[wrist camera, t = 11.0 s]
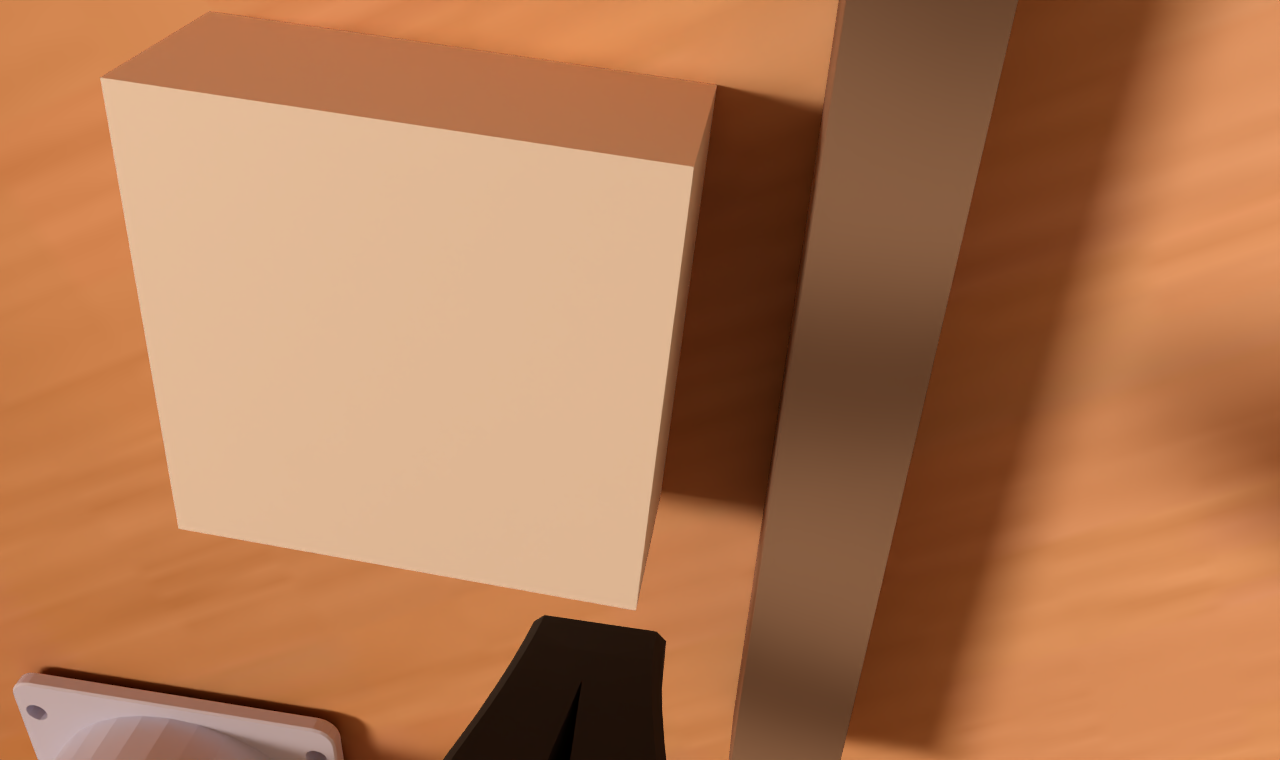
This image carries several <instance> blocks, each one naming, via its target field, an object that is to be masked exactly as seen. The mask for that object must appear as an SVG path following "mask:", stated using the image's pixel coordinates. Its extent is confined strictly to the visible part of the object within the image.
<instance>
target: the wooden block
mask: <svg viewBox="0 0 1280 760" xmlns="http://www.w3.org/2000/svg"><path fill="white" fill-rule="evenodd" d="M100 79H101V85H102V90H103V96H104V102H105V108H106V113H107V119H108V125H109V131H110V137H111V142H112V148H113V154H114V160H115V165H116V171H117V177H118V183H119V188H120V194H121V200H122V206H123V211H124V217H125V223H126V229H127V234H128V240H129V246H130V252H131V257H132V263H133V269H134V275H135V280H136V286H137V292H138V298H139V303H140V309H141V315H142V321H143V326H144V332H145V338H146V344H147V350H148V355H149V361H150V367H151V373H152V378H153V384H154V390H155V396H156V401H157V407H158V413H159V419H160V424H161V430H162V436H163V442H164V447H165V453H166V459H167V465H168V470H169V476H170V482H171V488H172V493H173V499H174V505H175V511H176V516H177V522H178V528H179V529H183V530H189V531H195V532H200V533H206V534H211V535H217V536H223V537H228V538H234V539H239V540H245V541H250V542H256V543H262V544H267V545H273V546H278V547H284V548H290V549H295V550H301V551H306V552H312V553H317V554H323V555H329V556H334V557H340V558H345V559H351V560H356V561H362V562H368V563H373V564H379V565H384V566H390V567H396V568H401V569H407V570H412V571H418V572H423V573H429V574H435V575H440V576H446V577H451V578H457V579H463V580H468V581H474V582H479V583H485V584H490V585H496V586H502V587H507V588H513V589H518V590H524V591H530V592H535V593H541V594H546V595H552V596H557V597H563V598H569V599H574V600H580V601H585V602H591V603H596V604H602V605H608V606H613V607H619V608H624V609H630V610H636V608H637V603H638V598H639V594H640V589H641V584H642V580H643V575H644V570H645V566H646V561H647V556H648V552H649V547H650V542H651V538H652V533H653V528H654V524H655V519H656V514H657V510H658V505H659V501H660V496H661V491H662V484H663V476H664V469H665V462H666V454H667V447H668V440H669V433H670V425H671V418H672V411H673V403H674V396H675V389H676V381H677V374H678V367H679V360H680V352H681V345H682V338H683V330H684V323H685V316H686V308H687V301H688V294H689V287H690V279H691V272H692V265H693V257H694V250H695V243H696V235H697V228H698V221H699V214H700V206H701V199H702V192H703V184H704V177H705V170H706V162H707V155H708V148H709V140H710V133H711V126H712V119H713V111H714V104H715V97H716V89H717V85H715V84H708V83H701V82H695V81H688V80H681V79H674V78H667V77H660V76H653V75H646V74H639V73H632V72H626V71H619V70H612V69H605V68H598V67H591V66H584V65H577V64H570V63H563V62H556V61H550V60H543V59H536V58H529V57H522V56H515V55H508V54H501V53H494V52H487V51H480V50H474V49H467V48H460V47H453V46H446V45H439V44H432V43H425V42H418V41H411V40H405V39H398V38H391V37H384V36H377V35H370V34H363V33H356V32H349V31H342V30H335V29H329V28H322V27H315V26H308V25H301V24H294V23H287V22H280V21H273V20H266V19H259V18H253V17H246V16H239V15H232V14H225V13H218V12H211V11H209V12H207V13H206V14H204V15H202V16H201V17H199V18H197V19H196V20H194V21H192V22H191V23H189V24H187V25H186V26H184V27H183V28H181V29H179V30H178V31H176V32H174V33H173V34H171V35H169V36H168V37H166V38H164V39H163V40H161V41H160V42H158V43H156V44H155V45H153V46H151V47H150V48H148V49H146V50H145V51H143V52H141V53H140V54H138V55H136V56H135V57H133V58H132V59H130V60H128V61H127V62H125V63H123V64H122V65H120V66H118V67H117V68H115V69H113V70H112V71H110V72H108V73H107V74H105V75H104V76H102V77H100Z"/></svg>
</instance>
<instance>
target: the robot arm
mask: <svg viewBox="0 0 1280 760" xmlns="http://www.w3.org/2000/svg"><path fill="white" fill-rule="evenodd" d="M665 646H666V641H665V640H664V639H663V638H662V637H661V636H660V635H659V634H658V633H657V632H655V631H649V630H642V629H635V628H628V627H621V626H615V625H608V624H601V623H594V622H587V621H581V620H574V619H567V618H560V617H554V616H547V615H544V616H542V617H541V618H539V619H537V620H536V621H534V623H533V625H532V626H531V628H530V630H529V632H528V634H527V636H526V638H525V639H524V641H523V643H522V645H521V646H520V648H519V650H518V651H517V653H516V655H515V656H514V658H513V660H512V661H511V663H510V665H509V666H508V668H507V669H506V671H505V673H504V674H503V676H502V677H501V679H500V680H499V682H498V683H497V685H496V686H495V688H494V689H493V691H492V692H491V694H490V695H489V697H488V698H487V700H486V701H485V703H484V704H483V706H482V707H481V708H480V710H479V711H478V713H477V714H476V716H475V717H474V719H473V720H472V721H471V723H470V724H469V725H468V727H467V728H466V729H465V731H464V732H463V733H462V735H461V736H460V737H459V739H458V740H457V741H456V743H455V744H454V746H453V747H452V748H451V750H450V751H449V752H448V754H447V755H446V756H445V758H444V759H443V760H666V754H665V744H664V730H663V716H662V680H663V669H664V658H665ZM13 694H14V697H15V699H16V702H17V705H18V707H19V710H20V713H21V715H22V718H23V721H24V723H25V726H26V729H27V731H28V734H29V737H30V739H31V742H32V745H33V747H34V750H35V753H36V756H37V758H38V760H344V758H343V751H342V744H341V737H340V734H339V731H338V729H337V728H336V727H335V726H334V725H333V724H332V723H330V722H328V721H327V720H324V719H320V718H315V717H309V716H303V715H297V714H290V713H284V712H278V711H272V710H266V709H259V708H253V707H247V706H241V705H234V704H228V703H222V702H216V701H209V700H203V699H197V698H191V697H184V696H178V695H172V694H166V693H159V692H153V691H147V690H141V689H134V688H128V687H122V686H116V685H109V684H103V683H97V682H91V681H84V680H78V679H72V678H66V677H59V676H53V675H47V674H41V673H27V674H24V675H23V676H22V677H21V678H20V679H19V681H18V682H17V683H16V685H15V686H14V688H13Z"/></svg>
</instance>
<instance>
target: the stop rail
mask: <svg viewBox="0 0 1280 760" xmlns="http://www.w3.org/2000/svg"><path fill="white" fill-rule="evenodd" d="M1017 3H1018V0H839V3H838V10H837V17H836V24H835V31H834V37H833V44H832V51H831V58H830V65H829V71H828V78H827V85H826V92H825V98H824V105H823V112H822V119H821V126H820V132H819V139H818V146H817V153H816V159H815V166H814V173H813V180H812V187H811V193H810V200H809V207H808V214H807V220H806V227H805V234H804V241H803V248H802V254H801V261H800V268H799V275H798V281H797V288H796V295H795V302H794V309H793V315H792V322H791V329H790V336H789V342H788V349H787V356H786V363H785V370H784V376H783V383H782V390H781V397H780V403H779V410H778V417H777V424H776V431H775V437H774V444H773V451H772V458H771V464H770V471H769V478H768V485H767V492H766V498H765V505H764V512H763V519H762V526H761V532H760V539H759V546H758V553H757V559H756V566H755V573H754V580H753V587H752V593H751V600H750V607H749V614H748V620H747V627H746V634H745V641H744V648H743V654H742V661H741V668H740V675H739V681H738V688H737V695H736V702H735V709H734V715H733V725H732V735H731V744H730V754H729V760H841V756H842V752H843V748H844V744H845V739H846V735H847V731H848V726H849V722H850V718H851V714H852V709H853V705H854V701H855V697H856V692H857V688H858V684H859V679H860V675H861V671H862V667H863V662H864V658H865V654H866V649H867V645H868V641H869V637H870V632H871V628H872V624H873V619H874V615H875V611H876V607H877V602H878V598H879V594H880V589H881V585H882V581H883V577H884V572H885V568H886V564H887V560H888V555H889V551H890V547H891V542H892V538H893V534H894V530H895V525H896V521H897V517H898V512H899V508H900V504H901V500H902V495H903V491H904V487H905V482H906V478H907V474H908V470H909V465H910V461H911V457H912V453H913V448H914V444H915V440H916V435H917V431H918V427H919V423H920V418H921V414H922V410H923V405H924V401H925V397H926V393H927V388H928V384H929V380H930V375H931V371H932V367H933V363H934V358H935V354H936V350H937V345H938V341H939V337H940V333H941V328H942V324H943V320H944V316H945V311H946V307H947V303H948V298H949V294H950V290H951V286H952V281H953V277H954V273H955V268H956V264H957V260H958V256H959V251H960V247H961V243H962V238H963V234H964V230H965V226H966V221H967V217H968V213H969V209H970V204H971V200H972V196H973V191H974V187H975V183H976V179H977V174H978V170H979V166H980V161H981V157H982V153H983V149H984V144H985V140H986V136H987V131H988V127H989V123H990V119H991V114H992V110H993V106H994V101H995V97H996V93H997V89H998V84H999V80H1000V76H1001V72H1002V67H1003V63H1004V59H1005V54H1006V50H1007V46H1008V42H1009V37H1010V33H1011V29H1012V24H1013V20H1014V16H1015V12H1016V7H1017Z"/></svg>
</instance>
